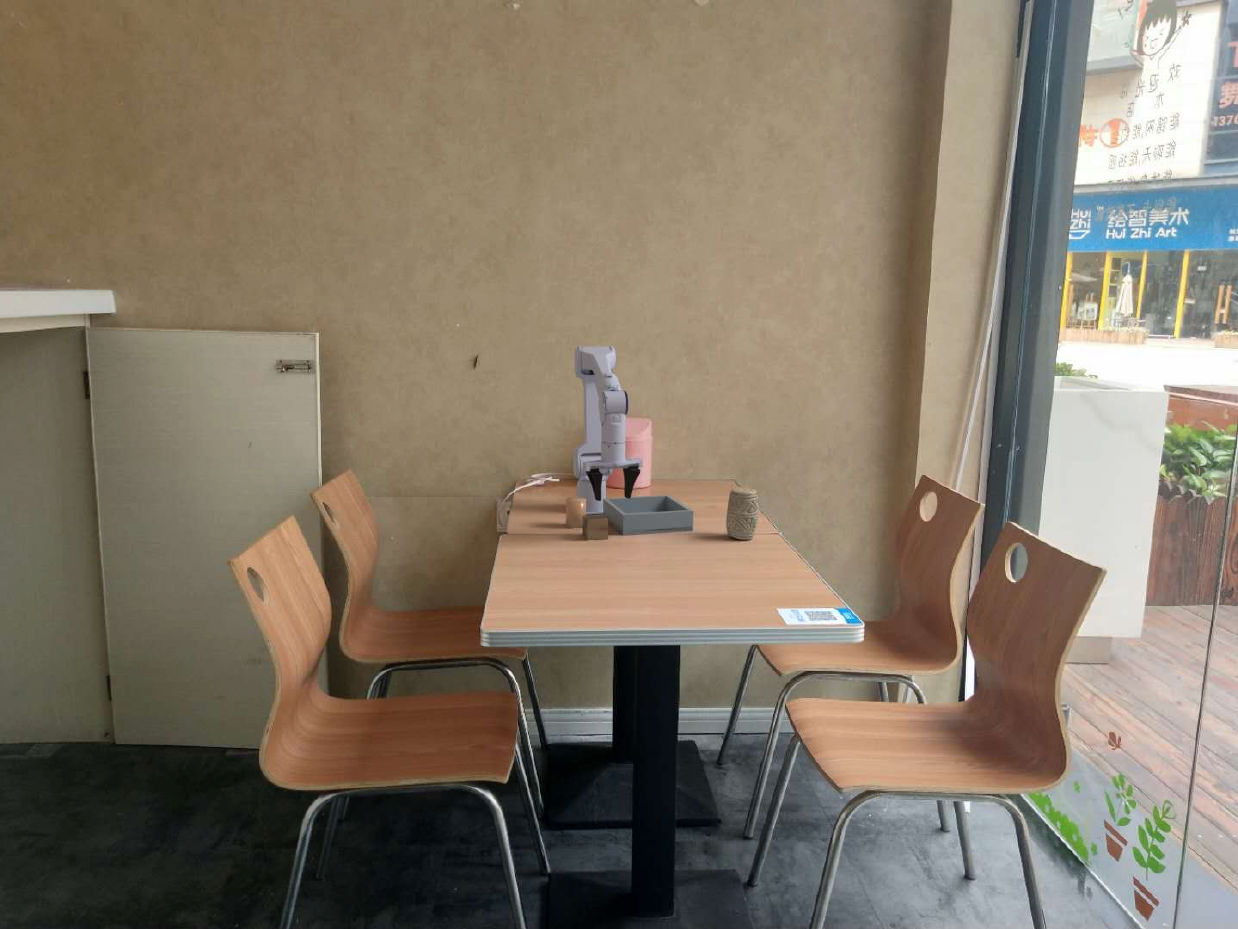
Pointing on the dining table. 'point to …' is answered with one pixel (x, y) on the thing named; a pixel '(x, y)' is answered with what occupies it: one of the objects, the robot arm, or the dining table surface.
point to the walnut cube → (595, 527)
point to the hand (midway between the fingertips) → (612, 499)
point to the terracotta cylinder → (575, 511)
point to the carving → (742, 513)
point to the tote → (647, 514)
